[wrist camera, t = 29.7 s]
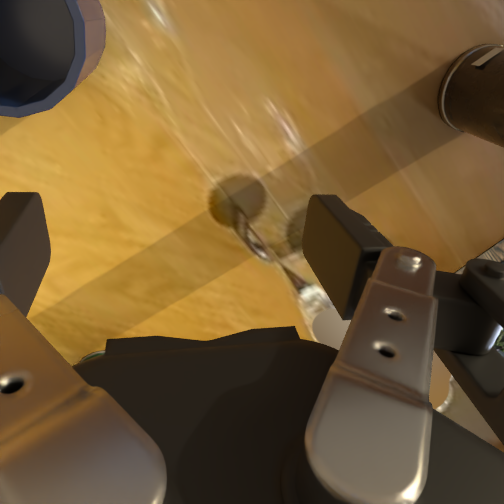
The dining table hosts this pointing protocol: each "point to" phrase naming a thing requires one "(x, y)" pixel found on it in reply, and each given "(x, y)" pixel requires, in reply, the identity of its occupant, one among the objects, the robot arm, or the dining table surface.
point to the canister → (46, 51)
